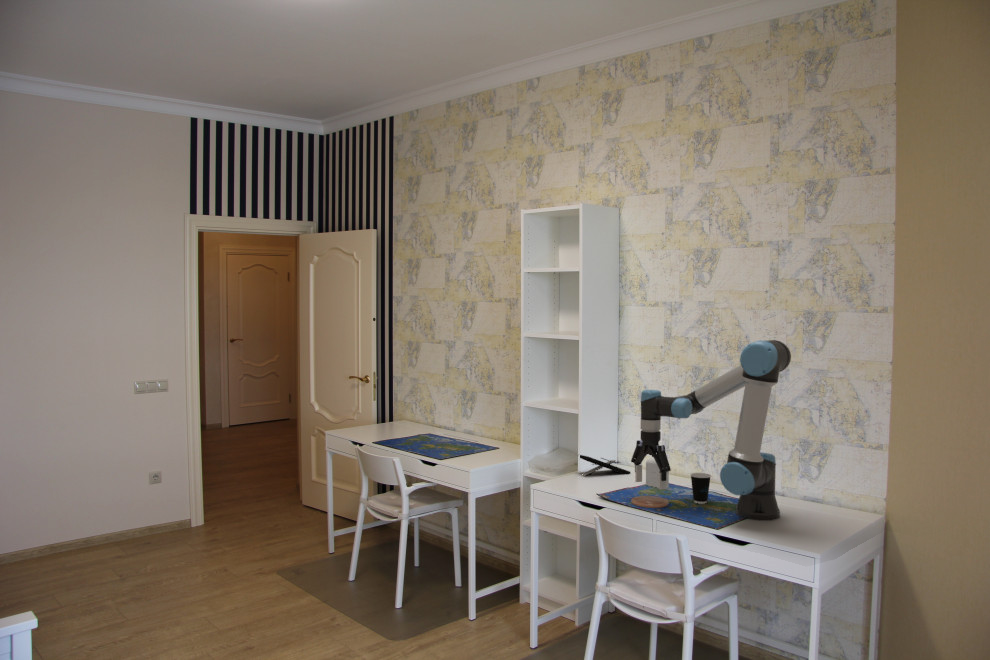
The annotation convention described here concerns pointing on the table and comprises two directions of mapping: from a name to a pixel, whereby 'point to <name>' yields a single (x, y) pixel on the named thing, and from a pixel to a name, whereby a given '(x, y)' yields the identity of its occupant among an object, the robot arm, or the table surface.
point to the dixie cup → (700, 487)
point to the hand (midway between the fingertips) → (650, 485)
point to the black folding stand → (602, 465)
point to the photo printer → (654, 474)
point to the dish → (650, 501)
